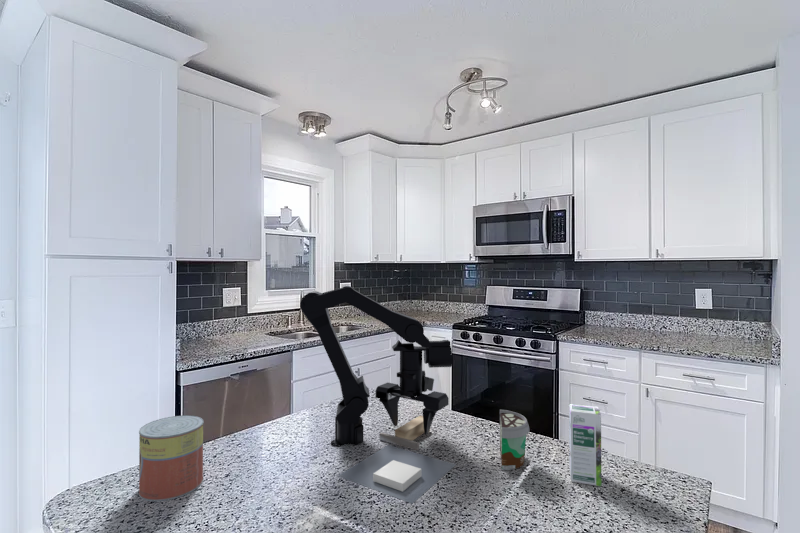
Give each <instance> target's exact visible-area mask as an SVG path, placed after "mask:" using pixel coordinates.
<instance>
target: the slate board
mask: <svg viewBox="0 0 800 533" xmlns="http://www.w3.org/2000/svg"><path fill="white" fill-rule="evenodd" d="M393 460H395V461H398V462H401V463H404V464H407V465H411V466H414V467H417V468H420V469H421V477H420V478H419V479H417V480H416V481H415V482H414V483H413V484H411V485H410V486H409V487H408V488H407V489H405V490H404V491H403V492H402V491H399V490H397V489H394V488H391V487H388V486H385V485H383V484H380V483H377V482H374V481H373V473H375V472H376V471H378V470H379V469H381V468H382V467H384V466H385V465H387V464H388V463H390V462H391V461H393ZM456 465H457V464H456V463H453V462H449V461H445V460H442V459H439V458H436V457H432V456H428V455H425V454H421V453H418V452H415V451H412V450H408V449H405V448H401V447H397V446H394V445H391V444H388V445H385V446H384V447H383V448H381V449H379V450H378V451H376V452H374V453H372V454H371V455H370V456H368V457H366V458H365V459H363V460H361V461H359V462H358V463H356V464H354V465H353V466H351V467H350V468H348V469H347V470H345V471H343V472H341V473H340V474H338V475H337V477H340V478H342V479H344V480H347V481H350V482H352V483H355V484H358V485H360V486H363V487H365V488H369V489H371V490H373V491H377V492H379V493H382V494H385V495H388V496H390V497H392V498H396V499H398V500H400V501H402V502H403V501H404V502H406V503H409V504H411V505H413V504H414V503H415V502H417V501H418V500H419V499H420V498H421V497H422V496H423V495H424V494H425V493H427V491H429V490H431V488H432V487H433V486H434V485H435V484H436V483H438V481H440V480H441V479H442V478H443V477H445V475H447V473H449V472H450V471H451V470H452V469H453V468H454V467H455V466H456Z"/></svg>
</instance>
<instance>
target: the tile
mask: <svg viewBox="0 0 800 533" xmlns="http://www.w3.org/2000/svg"><path fill="white" fill-rule="evenodd" d="M420 477H421V469H420V468H417V467H414V466H411V465H407V464H404V463H401V462H398V461H395V460H393V461H391V462H390V463H388V464H387V465H385V466H384V467H382V468H381V469H379V470H378V471H376V472H375V473H373V481H374V482H377V483H380V484H383V485H385V486H388V487H391V488H394V489H397V490H399V491H402V492H403V491H404V490H405V489H407V488H408V487H409V486H410V485H411V484H413V483H414V482H415V481H416V480H417V479H419V478H420Z"/></svg>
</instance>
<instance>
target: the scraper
mask: <svg viewBox="0 0 800 533" xmlns="http://www.w3.org/2000/svg"><path fill="white" fill-rule="evenodd" d="M430 431H431V429H430V430H429V432H428V433H430ZM423 434H425V432H424V424H423V415H418V416H417V417H414V418H413V419H411V420H410V421H407V422H406V423H404V424H402V425H401V426H399V427H397V428H396V429H395V430H394V435H392V434H389V433H385V432H379V441H383V442H387V443H389V444H392V445H393V444H394V445H396V446H400V447H404V448H408V449H411V450H415V451H419V450H420V449H421V448H420V442H418V441H414V440H416V439H417V438H419V437H420V436H422V435H423Z"/></svg>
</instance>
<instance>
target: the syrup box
mask: <svg viewBox="0 0 800 533" xmlns="http://www.w3.org/2000/svg"><path fill="white" fill-rule="evenodd" d="M568 408H569V409H568V410H569V414H568V415H569V474H570V481H571V483H579V484H583V485H590V486H596V487H599V488H600V487H602V483H603V482H602V481H603V480H602V475H603V474H602V413H601V411H600V408H599V406H598V405H597V406H596V405H593V406H592V405H583V404H575V403H570V404H569V406H568Z"/></svg>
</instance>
